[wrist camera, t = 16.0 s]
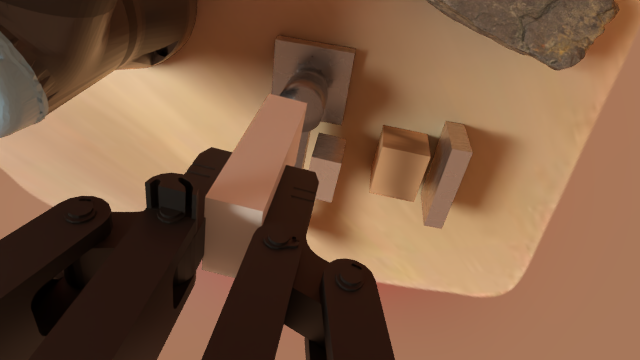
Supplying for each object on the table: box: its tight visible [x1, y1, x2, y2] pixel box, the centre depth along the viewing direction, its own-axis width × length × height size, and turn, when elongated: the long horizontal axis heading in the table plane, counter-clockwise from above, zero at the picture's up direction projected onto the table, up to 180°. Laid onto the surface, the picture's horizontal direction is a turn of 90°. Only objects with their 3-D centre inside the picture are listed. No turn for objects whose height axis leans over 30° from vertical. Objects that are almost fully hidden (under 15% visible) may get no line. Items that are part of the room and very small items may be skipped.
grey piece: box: [272, 35, 473, 229], centre depth 44 cm, size 21×16×6 cm
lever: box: [280, 73, 346, 203], centre depth 45 cm, size 7×23×6 cm, turn 169°
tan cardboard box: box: [369, 125, 431, 202], centre depth 46 cm, size 5×6×5 cm
